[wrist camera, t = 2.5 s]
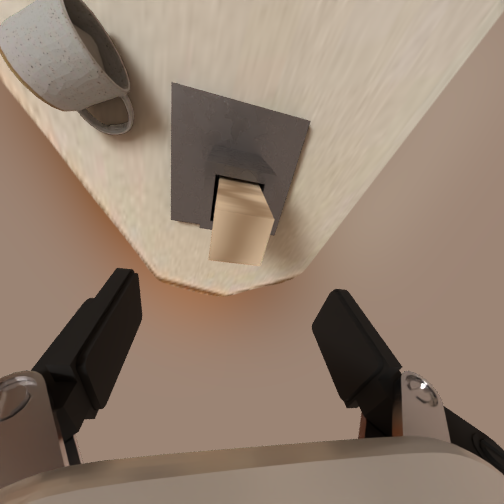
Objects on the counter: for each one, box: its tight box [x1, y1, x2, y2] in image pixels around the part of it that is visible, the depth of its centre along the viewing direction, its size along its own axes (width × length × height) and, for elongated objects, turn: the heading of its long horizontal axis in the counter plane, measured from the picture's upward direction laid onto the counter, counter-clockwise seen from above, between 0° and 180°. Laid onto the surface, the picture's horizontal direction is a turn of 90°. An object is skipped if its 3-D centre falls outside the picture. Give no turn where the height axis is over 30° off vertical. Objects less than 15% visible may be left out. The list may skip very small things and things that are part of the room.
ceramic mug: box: [0, 0, 134, 135], centre depth 21 cm, size 11×8×8 cm
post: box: [208, 175, 275, 266], centre depth 22 cm, size 4×4×19 cm
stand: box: [171, 82, 310, 235], centre depth 26 cm, size 18×18×14 cm
